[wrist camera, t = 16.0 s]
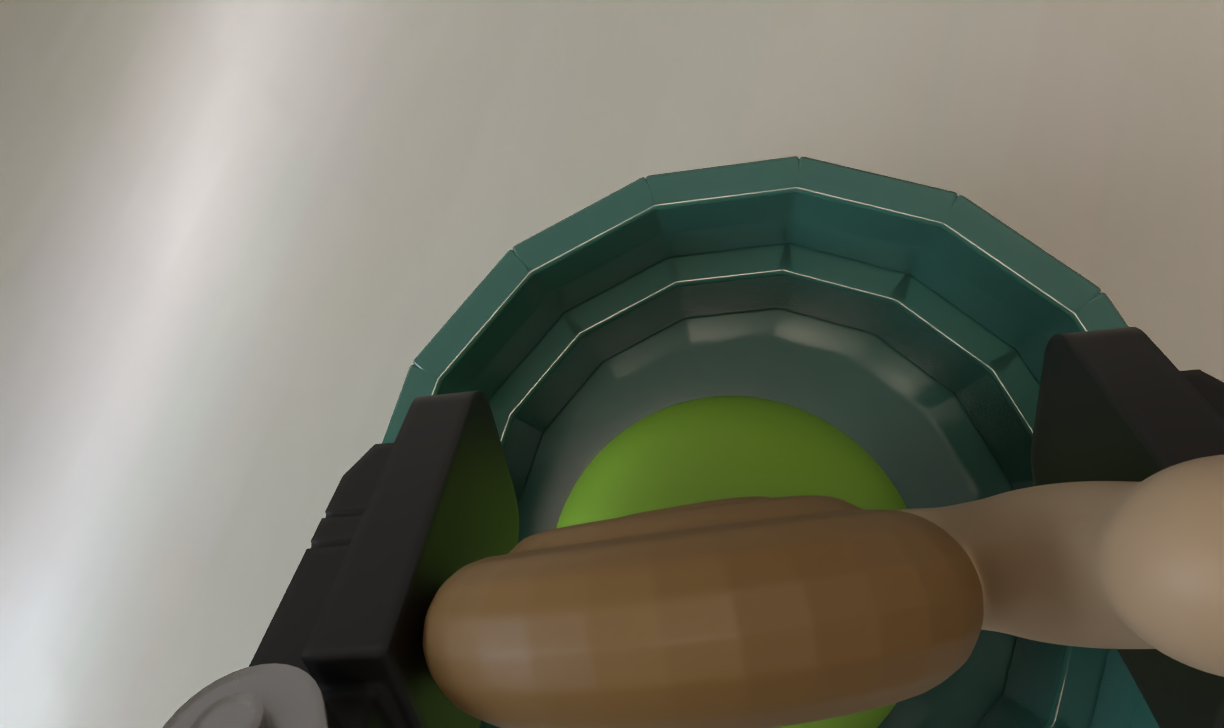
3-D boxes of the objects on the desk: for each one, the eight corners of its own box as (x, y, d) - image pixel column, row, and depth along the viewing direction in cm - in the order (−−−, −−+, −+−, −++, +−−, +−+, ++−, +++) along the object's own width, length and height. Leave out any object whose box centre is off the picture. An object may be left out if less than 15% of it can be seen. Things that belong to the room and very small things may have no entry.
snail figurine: (982, 704, 14) (2197, 1538, 2) (607, 751, 15) (107, 1560, 3) (909, 389, 15) (1467, -95, 4) (566, 447, 16) (94, 201, 4)
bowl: (481, 885, 17) (360, 1053, 11) (460, 300, 19) (353, 212, 14) (1132, 874, 15) (1346, 1062, 10) (1017, 236, 18) (1137, 109, 12)
